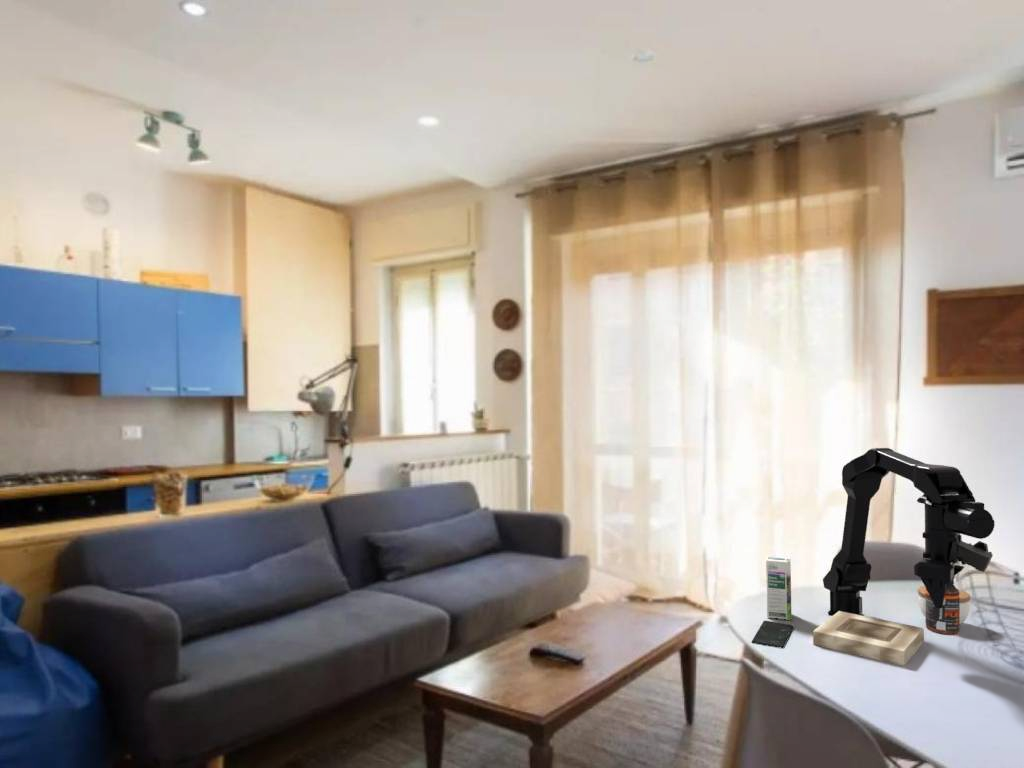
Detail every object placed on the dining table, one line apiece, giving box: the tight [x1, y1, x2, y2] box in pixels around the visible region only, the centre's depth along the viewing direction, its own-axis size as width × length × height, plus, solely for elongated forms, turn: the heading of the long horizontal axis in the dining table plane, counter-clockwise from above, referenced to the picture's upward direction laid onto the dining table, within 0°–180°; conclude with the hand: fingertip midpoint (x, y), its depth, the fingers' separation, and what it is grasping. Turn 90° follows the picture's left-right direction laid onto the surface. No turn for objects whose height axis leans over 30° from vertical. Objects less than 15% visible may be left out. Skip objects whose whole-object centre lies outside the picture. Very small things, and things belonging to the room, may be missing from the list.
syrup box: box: [765, 555, 792, 621], centre depth 171 cm, size 6×6×14 cm
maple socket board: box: [812, 611, 925, 667], centre depth 152 cm, size 18×18×3 cm
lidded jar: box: [917, 585, 971, 625], centre depth 164 cm, size 11×11×9 cm
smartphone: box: [751, 620, 794, 649], centre depth 158 cm, size 7×1×15 cm
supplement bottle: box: [925, 578, 961, 636], centre depth 139 cm, size 6×6×11 cm
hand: (942, 604), depth 139 cm, fingers closed on supplement bottle, 6 cm apart
